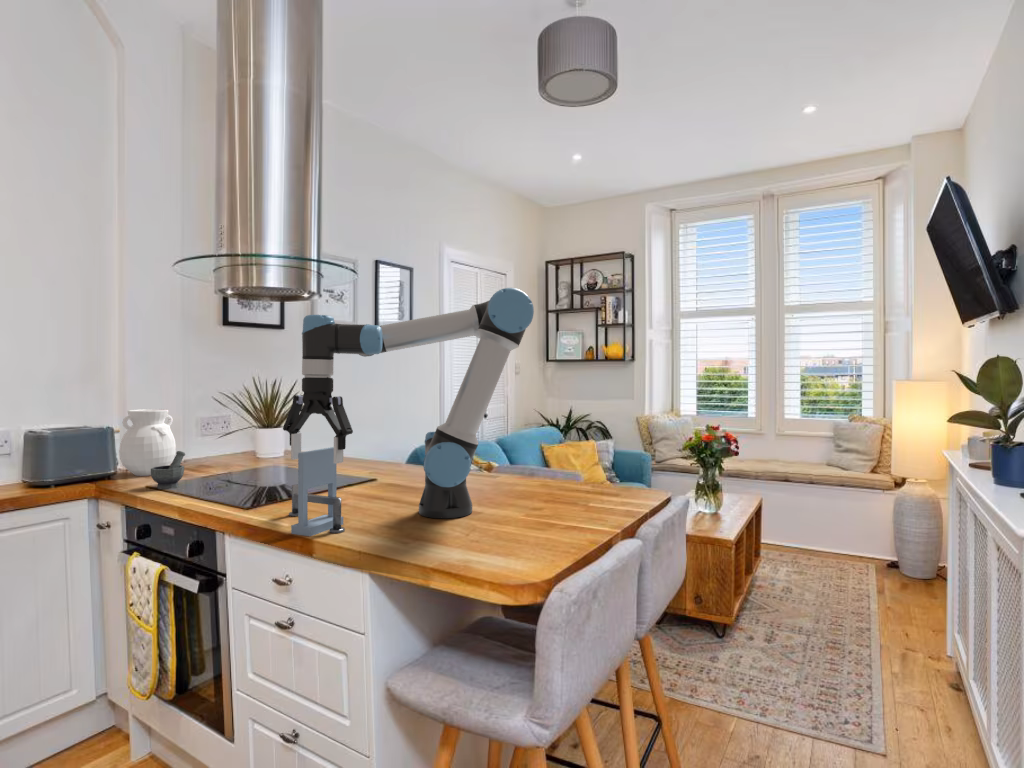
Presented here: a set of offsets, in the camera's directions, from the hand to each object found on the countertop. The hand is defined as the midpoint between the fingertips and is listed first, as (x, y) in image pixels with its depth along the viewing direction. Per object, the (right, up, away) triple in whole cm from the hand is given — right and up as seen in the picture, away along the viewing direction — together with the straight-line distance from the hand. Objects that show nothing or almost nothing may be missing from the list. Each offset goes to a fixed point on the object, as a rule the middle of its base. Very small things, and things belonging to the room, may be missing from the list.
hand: (316, 460), depth 142 cm
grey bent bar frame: (-3, -17, +6) cm, 18 cm away
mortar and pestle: (-69, -16, +52) cm, 88 cm away
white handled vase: (-92, -16, +77) cm, 121 cm away
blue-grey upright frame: (0, -17, 0) cm, 17 cm away
